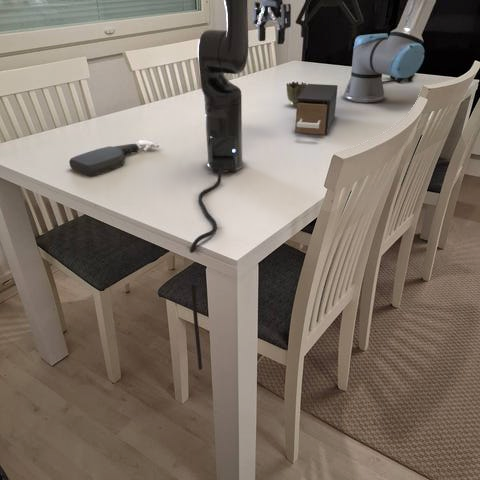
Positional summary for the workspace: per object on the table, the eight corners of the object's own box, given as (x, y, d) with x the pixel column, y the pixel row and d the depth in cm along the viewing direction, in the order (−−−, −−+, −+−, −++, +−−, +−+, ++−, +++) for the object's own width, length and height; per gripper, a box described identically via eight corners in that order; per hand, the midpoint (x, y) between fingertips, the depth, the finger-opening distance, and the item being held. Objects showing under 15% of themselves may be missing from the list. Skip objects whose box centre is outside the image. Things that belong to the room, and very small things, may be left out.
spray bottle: (67, 168, 120) (139, 144, 136) (91, 178, 114) (163, 151, 130) (65, 157, 118) (137, 134, 134) (89, 167, 112) (162, 142, 128)
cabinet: (327, 135, 140) (330, 100, 134) (295, 132, 142) (296, 98, 136) (334, 117, 155) (337, 85, 150) (305, 115, 158) (307, 83, 152)
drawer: (321, 141, 132) (323, 110, 128) (292, 138, 135) (293, 108, 130) (331, 117, 152) (334, 90, 147) (305, 115, 154) (307, 89, 149)
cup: (282, 107, 166) (283, 85, 162) (290, 102, 172) (290, 80, 168) (301, 109, 163) (302, 87, 159) (308, 104, 169) (309, 82, 165)
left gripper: (299, -21, 121) (296, 43, 129) (266, -22, 131) (265, 38, 139) (278, -20, 117) (276, 46, 126) (246, -21, 127) (246, 41, 135)
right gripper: (377, -32, 129) (368, 47, 140) (292, -30, 134) (289, 46, 146) (378, -31, 123) (368, 51, 134) (288, -29, 128) (285, 50, 140)
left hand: (270, 42), depth 132 cm, fingers open, 8 cm apart
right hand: (327, 49), depth 140 cm, fingers open, 13 cm apart
